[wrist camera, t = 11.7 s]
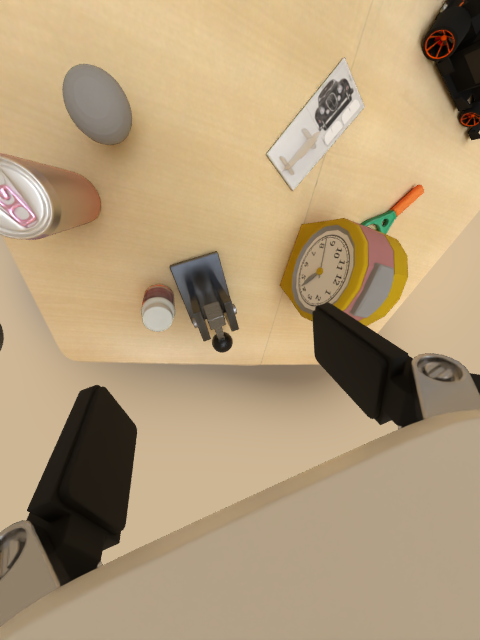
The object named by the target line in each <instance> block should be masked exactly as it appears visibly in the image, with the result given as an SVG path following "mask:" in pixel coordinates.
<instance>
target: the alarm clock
mask: <svg viewBox="0 0 480 640" xmlns="http://www.w3.org/2000/svg"><path fill="white" fill-rule="evenodd" d="M407 278H408V264H407V255H406V253H405V251H404V249H403V248H402V246H401V244H400V243H399V241H398V240H397V239H395V238H392V237H390V236H388V235H386V234H384V233H382V232H379V231H377V230H374V229H371V228H369V227H366V226H363V225H361V224H358V223H355V222H353V221H350V220H348V219H345V218H341V219H335V220H330V221H323V222H316V223H308V224H302V225H301V228H300V231H299V234H298V237H297V239H296V242H295V245H294V248H293V250H292V253H291V256H290V259H289V261H288V264H287V267H286V270H285V272H284V275H283V278H282V281H281V284H280V286H281V288H282V289H283V290H284V292H285V293H286V294H287V296H288V297H289V299H290V300H291V301H292V303H293V304H294V306H295V307H296V309H297V310H298V312H299V313H300V315H301V316H302V317H304V318H307V319H309V320H311V321H313V316H312V312H313V311H314V310H315V307H316V306H319V305H321V304H324V303H327V302H329V303H331V304H332V305H334V306H336V307H337V308H339V309H340V310H342V311H343V312H345V313H346V314H348V315H349V316H351V317H353V318H354V319H356V320H357V321H359V322H360V323H362V324H363V325H365V326H368V325H369V324H371V323H373V322H375V321H377V320H379V319H380V318H382V317H384V316H385V315H386V314H387V313H388V312H389V311H390V309H391V308H392V307H393V306H394V305H395V304H396V303H397V301H398V300H399V299H400V297H401V294H402V291H403V289H404V286H405V283H406V281H407Z"/></svg>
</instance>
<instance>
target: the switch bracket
mask: <svg viewBox="0 0 480 640" xmlns="http://www.w3.org/2000/svg"><path fill="white" fill-rule="evenodd" d="M170 269H171V272H172V274H173V276H174V279H175V281H176V284H177V286H178V289H179V291H180V294H181V296H182V299H183V301H184V304H185V306H186V309H187V311H188V314H189V316H190V319H191V321H192V323H193V324H194V327H195V328H197V327H198V328H199V331H200V333H201V336H202V338H203V341H207V340H209V339H211V338H210V335H209V331H208V328H207V325H206V322H205V319H207V317H206V315H205V312H204V309H203V306H205V305H208V304H211V303H214V302H217V301H218V302H219V304H220V306H221V309H222V312H223V314H224V316H225V318H226V320H227V322H228V324H229V326H230V328H231V330H232V331H235V330H238V329H239V328H238V324H237V320H236V317H235V314H237V310H236V307H235V305H234V304H232V302H231V299H230V296H229V292H228V288H227V285H226V281H225V277H224V274H223V270H222V266H221V263H220V259H219V255H218V253H217V251H215V252H212V253H209V254H206V255H202V256H199V257H196V258H192V259H189V260H186V261H182V262H179V263H176V264H173V265H170Z"/></svg>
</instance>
